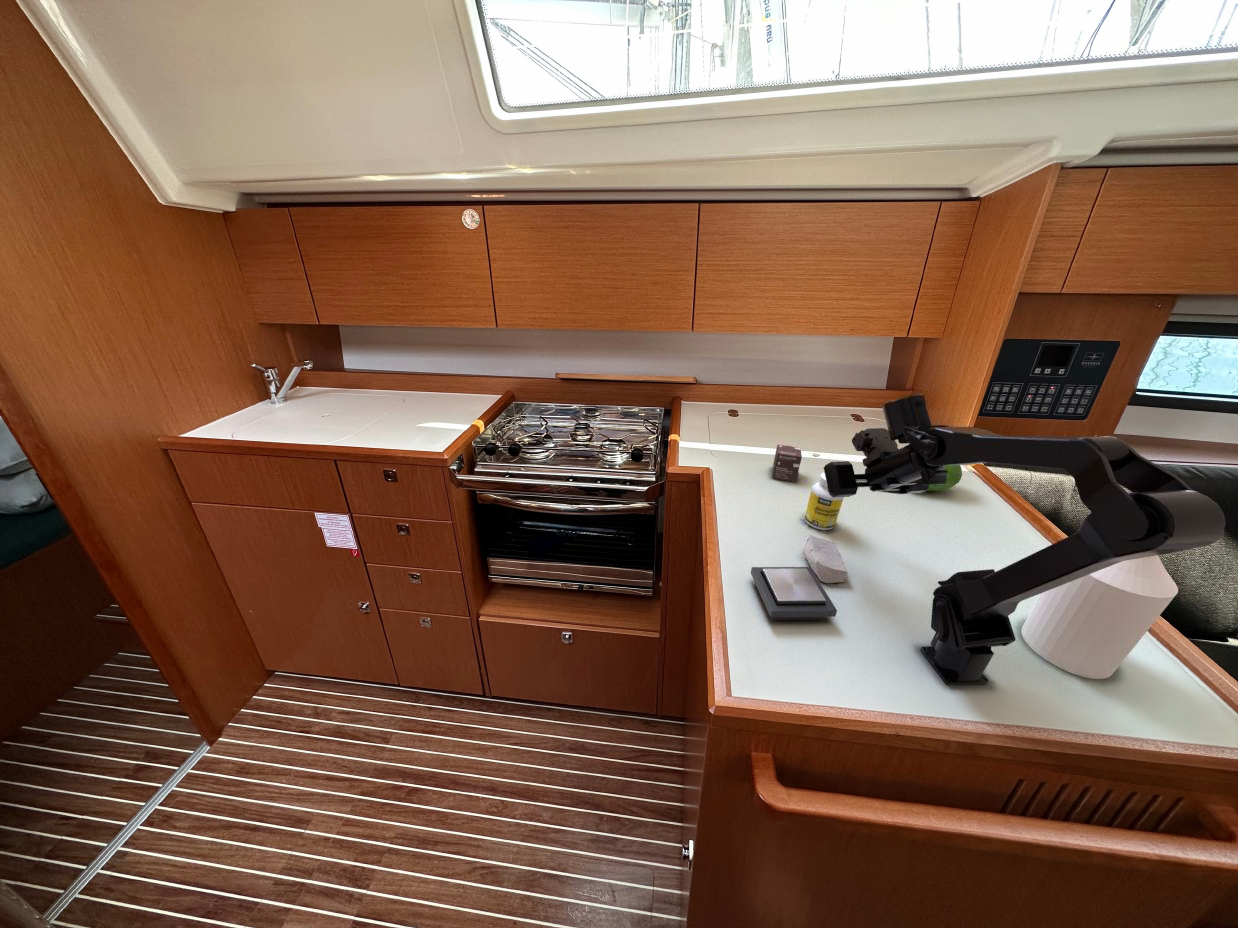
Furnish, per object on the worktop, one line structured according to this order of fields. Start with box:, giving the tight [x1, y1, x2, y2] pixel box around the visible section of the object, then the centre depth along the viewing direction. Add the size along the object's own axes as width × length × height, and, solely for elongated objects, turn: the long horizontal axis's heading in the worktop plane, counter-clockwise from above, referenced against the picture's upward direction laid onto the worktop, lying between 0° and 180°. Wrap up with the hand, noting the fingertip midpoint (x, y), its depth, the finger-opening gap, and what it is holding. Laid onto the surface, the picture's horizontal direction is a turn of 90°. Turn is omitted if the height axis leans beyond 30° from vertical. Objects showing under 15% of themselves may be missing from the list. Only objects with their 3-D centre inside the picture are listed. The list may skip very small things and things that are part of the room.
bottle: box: [1021, 555, 1179, 680], centre depth 69 cm, size 12×12×25 cm
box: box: [771, 444, 803, 483], centre depth 122 cm, size 6×6×7 cm
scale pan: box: [762, 569, 826, 606], centre depth 81 cm, size 8×8×1 cm
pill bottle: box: [804, 471, 845, 531], centre depth 102 cm, size 6×6×12 cm
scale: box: [750, 566, 838, 621], centre depth 81 cm, size 11×11×3 cm
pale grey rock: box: [802, 534, 848, 584], centre depth 90 cm, size 10×6×6 cm, turn 168°
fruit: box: [927, 465, 963, 492], centre depth 118 cm, size 15×10×10 cm, turn 85°
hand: (849, 488), depth 93 cm, fingers open, 9 cm apart
